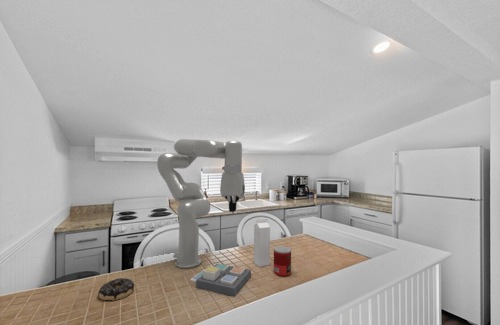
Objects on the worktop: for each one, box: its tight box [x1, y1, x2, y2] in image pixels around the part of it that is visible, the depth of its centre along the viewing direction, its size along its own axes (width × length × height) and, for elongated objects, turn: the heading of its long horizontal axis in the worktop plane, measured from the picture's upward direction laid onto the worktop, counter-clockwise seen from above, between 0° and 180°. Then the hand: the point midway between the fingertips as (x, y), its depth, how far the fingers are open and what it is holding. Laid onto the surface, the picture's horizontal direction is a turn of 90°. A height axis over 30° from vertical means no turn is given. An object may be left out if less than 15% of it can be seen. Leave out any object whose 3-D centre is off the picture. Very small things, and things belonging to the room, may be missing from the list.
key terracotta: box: [230, 266, 246, 277], centre depth 98 cm, size 5×5×4 cm
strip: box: [189, 268, 206, 283], centre depth 100 cm, size 4×11×1 cm, turn 158°
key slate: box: [221, 275, 237, 286], centre depth 90 cm, size 5×5×4 cm
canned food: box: [273, 245, 292, 277], centre depth 104 cm, size 8×8×11 cm
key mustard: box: [202, 265, 220, 281], centre depth 93 cm, size 5×5×4 cm
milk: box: [253, 219, 271, 268], centre depth 114 cm, size 6×6×22 cm
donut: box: [98, 277, 136, 301], centre depth 86 cm, size 11×12×4 cm
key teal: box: [216, 263, 230, 273], centre depth 100 cm, size 5×5×4 cm
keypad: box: [195, 263, 252, 298], centre depth 95 cm, size 17×17×3 cm
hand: (232, 211), depth 99 cm, fingers closed
